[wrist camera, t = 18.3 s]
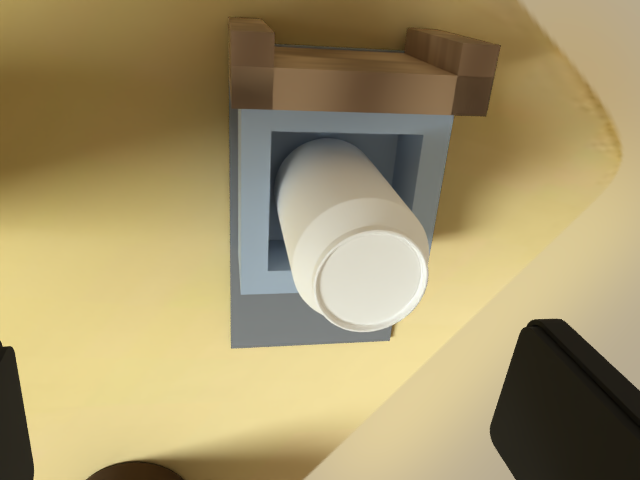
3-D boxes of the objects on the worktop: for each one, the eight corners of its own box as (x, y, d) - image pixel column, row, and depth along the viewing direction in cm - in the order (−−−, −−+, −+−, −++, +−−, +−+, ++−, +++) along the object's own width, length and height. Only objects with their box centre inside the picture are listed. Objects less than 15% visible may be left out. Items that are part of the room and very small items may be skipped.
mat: (231, 345, 39) (231, 348, 39) (228, 41, 30) (228, 42, 29) (388, 337, 41) (389, 340, 41) (431, 51, 32) (433, 52, 32)
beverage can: (345, 241, 35) (400, 359, 24) (256, 210, 33) (273, 323, 22) (389, 156, 32) (471, 244, 22) (297, 116, 30) (337, 192, 20)
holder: (238, 252, 35) (240, 294, 30) (237, 80, 30) (241, 99, 26) (398, 249, 37) (423, 288, 32) (422, 88, 32) (455, 107, 28)
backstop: (228, 77, 30) (231, 108, 23) (228, 16, 29) (230, 30, 22) (428, 85, 32) (486, 116, 25) (436, 29, 31) (500, 45, 24)
